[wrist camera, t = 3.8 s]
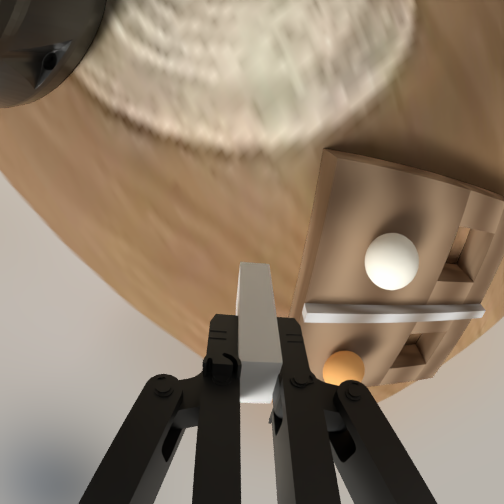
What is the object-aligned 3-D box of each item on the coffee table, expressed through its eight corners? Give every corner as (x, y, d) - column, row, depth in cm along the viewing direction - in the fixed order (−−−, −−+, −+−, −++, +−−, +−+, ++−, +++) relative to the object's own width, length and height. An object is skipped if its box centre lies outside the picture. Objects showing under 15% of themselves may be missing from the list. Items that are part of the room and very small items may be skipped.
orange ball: (314, 368, 28) (321, 401, 24) (325, 342, 26) (334, 376, 22) (350, 367, 28) (360, 398, 24) (364, 341, 26) (376, 373, 22)
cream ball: (351, 268, 22) (368, 301, 18) (365, 220, 20) (388, 248, 16) (394, 271, 22) (415, 301, 19) (410, 226, 20) (436, 253, 17)
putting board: (275, 366, 32) (279, 399, 28) (323, 148, 21) (343, 162, 17) (422, 359, 34) (435, 384, 30) (500, 195, 22) (529, 213, 18)
